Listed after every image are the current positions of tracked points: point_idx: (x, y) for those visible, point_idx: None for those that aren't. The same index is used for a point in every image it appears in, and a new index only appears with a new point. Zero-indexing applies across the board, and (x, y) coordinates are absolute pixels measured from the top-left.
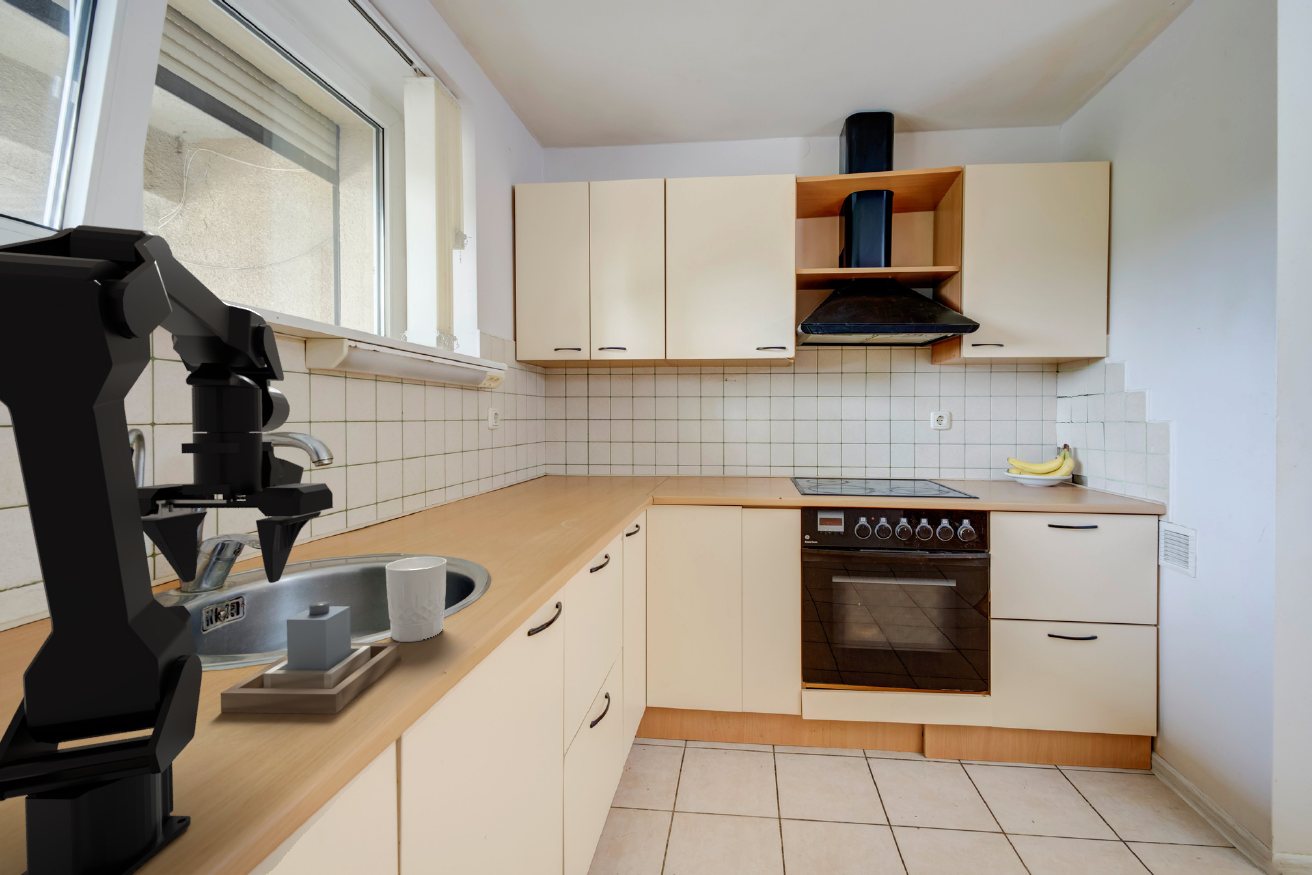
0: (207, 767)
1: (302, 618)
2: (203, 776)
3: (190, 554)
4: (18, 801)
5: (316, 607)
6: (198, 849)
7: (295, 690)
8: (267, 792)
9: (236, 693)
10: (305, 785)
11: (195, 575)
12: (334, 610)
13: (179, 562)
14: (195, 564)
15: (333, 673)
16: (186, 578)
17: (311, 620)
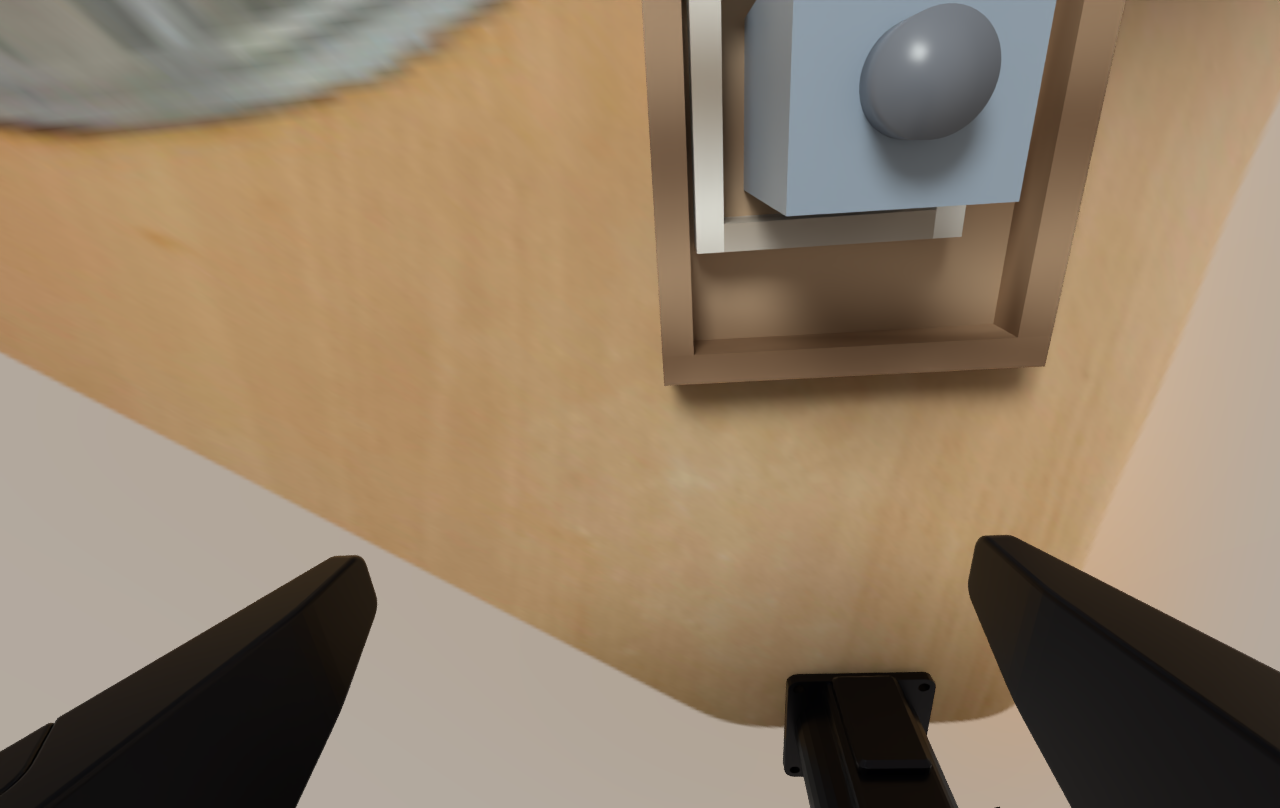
0: (830, 554)
1: (867, 192)
2: (845, 576)
3: (236, 743)
4: (574, 641)
5: (947, 135)
6: (976, 701)
7: (896, 355)
8: None
9: (714, 381)
10: None
11: (347, 571)
12: (995, 23)
13: (303, 775)
14: (300, 633)
15: (961, 222)
16: (364, 623)
17: (930, 206)
